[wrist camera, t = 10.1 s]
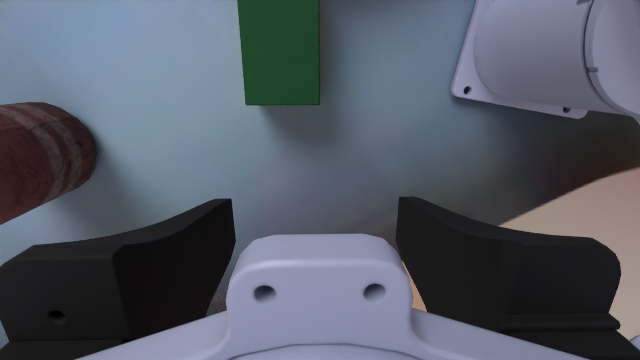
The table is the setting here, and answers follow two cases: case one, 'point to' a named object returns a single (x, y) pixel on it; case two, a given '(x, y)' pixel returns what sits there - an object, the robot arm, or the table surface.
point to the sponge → (280, 51)
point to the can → (40, 156)
